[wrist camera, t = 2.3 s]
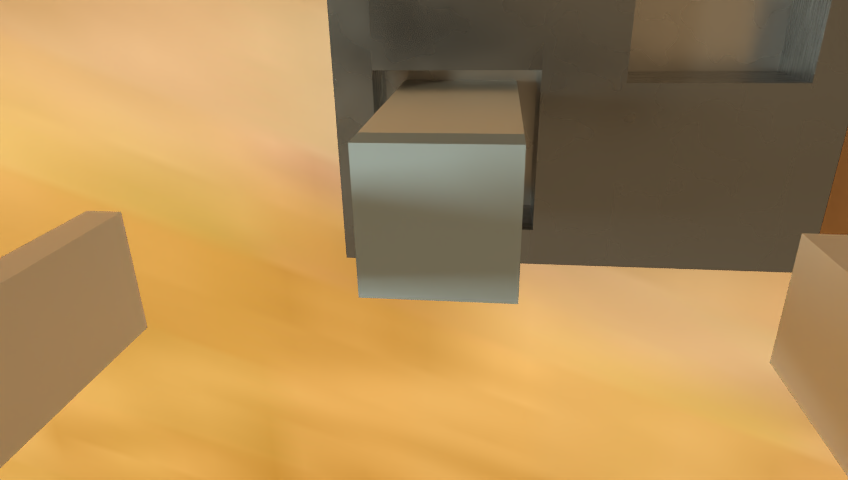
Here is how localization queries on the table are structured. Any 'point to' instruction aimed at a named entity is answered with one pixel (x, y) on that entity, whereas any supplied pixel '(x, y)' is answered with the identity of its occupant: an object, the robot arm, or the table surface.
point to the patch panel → (630, 116)
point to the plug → (440, 193)
